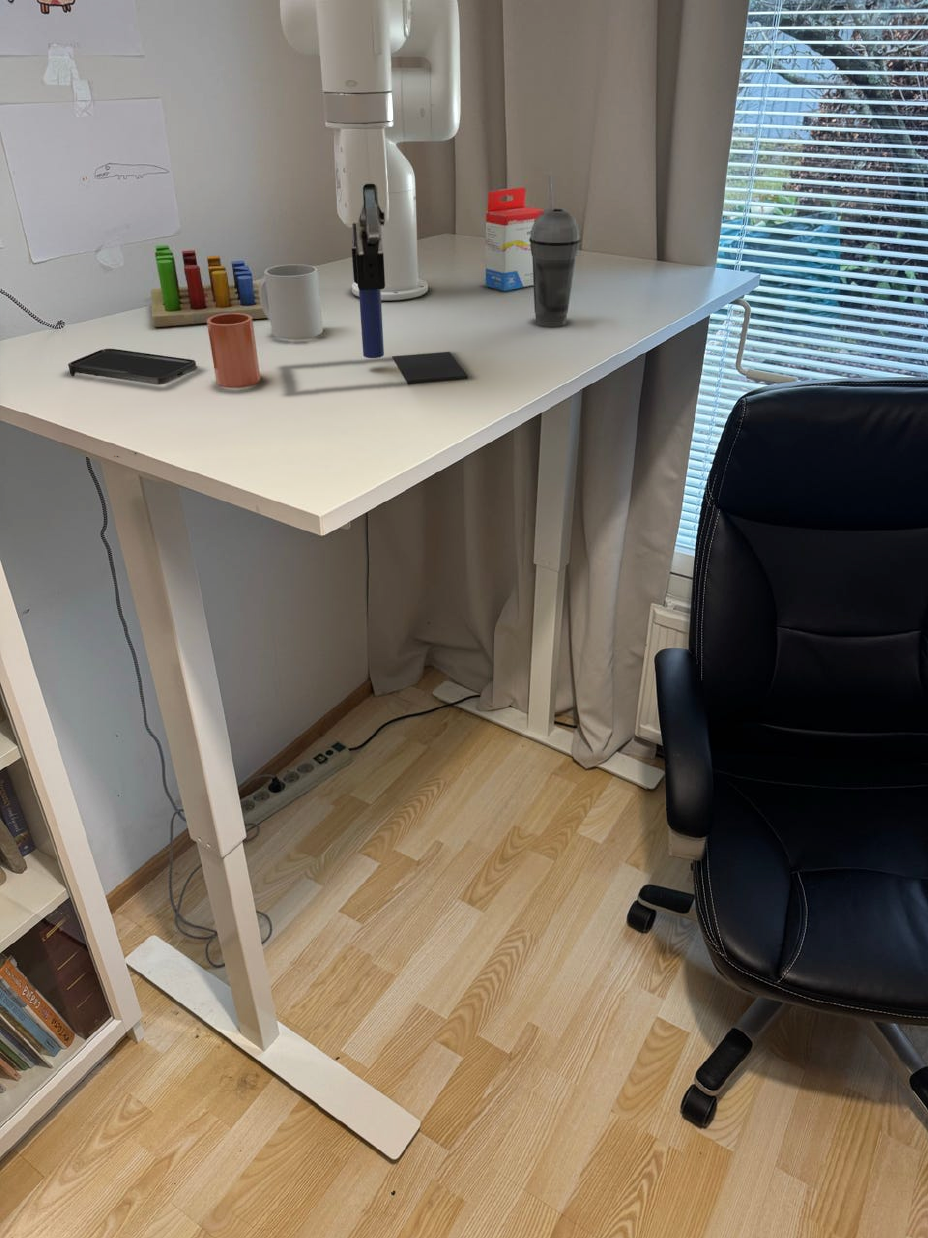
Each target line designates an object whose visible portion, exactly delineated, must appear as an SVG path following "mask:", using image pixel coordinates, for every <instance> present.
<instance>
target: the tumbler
mask: <svg viewBox="0 0 928 1238" xmlns="http://www.w3.org/2000/svg"><path fill="white" fill-rule="evenodd" d="M253 321H254V319H252V316H250V315H248V314H243V313H225V314H219V315H215V316H212V317H210V318H208V319H207V323H206V326H207V333H208V339H209V345H210V350H211V356H212V363H213V369H214V375H215V381H216V384H217V385H219V387H220V386H221V387H224V388H231V389H232V388H237V389H238V388H246V387H249V386H253V385H256V384H258V383H259V382H260V381H261V371H260V365H259V358H258V350H257V349H258V348H257V343H256V337H255V327H254V322H253Z"/></svg>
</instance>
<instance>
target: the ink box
mask: <svg viewBox="0 0 928 1238" xmlns="http://www.w3.org/2000/svg"><path fill="white" fill-rule="evenodd" d="M526 192H527V190H526V187H525V186H522V187H512V188H504V189H497V190H490V191H488V192H487V207H486V208H487V209H486V213H485V286H486V287H487V288H491V289H495V290H498V291H502V292H506V291H511V290H517V289H521V288H522V289H523V288H527V287H531V286H534V282H533V258H532V254H531V247H530V242H529V239H530V236H531V230H532V227H533V224H534V222H535V220H536V219H537V218H538V216H540V215H541V214H542V213H543V212H544V210H543V209H541V208H537V207H532V206H525V205H526ZM506 196H508V197H512V199H511V200H505V201H501V198H506Z"/></svg>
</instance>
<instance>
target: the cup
mask: <svg viewBox="0 0 928 1238" xmlns="http://www.w3.org/2000/svg"><path fill="white" fill-rule="evenodd" d="M263 272H264V276H263V277H262V279H261V280H260V281H259V282H260V286H259V296H260V302H261V306H262V309H263V311H264V314H265V315H266V317H267V318H266V319H268V320H269V321H270V322H269V323H270V327H271V328H270V330H271V334H272V335H273V336H274V337H275V338H278V339H285V340H303V339H304V340H305V339H309V338H314V337H318V336H319V335H321V334H322V333H323V332H324V331H323V330H324V328H323V327H324V325H323V316H322V303H321V294H320V283H319V273H318V272H319V271H318V267H315V266H313V265H310V264H309V265H308V264H295V263H293V264H281V265H275V266H270V267H268V268H266V269H265V270H264V271H263Z"/></svg>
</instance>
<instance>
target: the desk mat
mask: <svg viewBox="0 0 928 1238" xmlns="http://www.w3.org/2000/svg"><path fill="white" fill-rule="evenodd" d="M391 358H392V360H393V361H394V363H395V365H396V367H397V369H398V370H399V372H400V373H401V376H402V377H403V379H404V381H405V382H406V384H407V385H408V384H409V385H410V384H419V383H430V382H431V383H433V382H442V381H443V382H444V381H453V380H466V379H468V377H469V376H468V373H466V372H465V370H464V369H463V368H462V366H461V365H460V363H459V362H458V361H457V359H456V358H455V357H454V355H453V354H452V353H451V351H443V352H441V351H440V352H429V353H417V354H406V355H405V354H404V355H393V356H392V355H391Z"/></svg>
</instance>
